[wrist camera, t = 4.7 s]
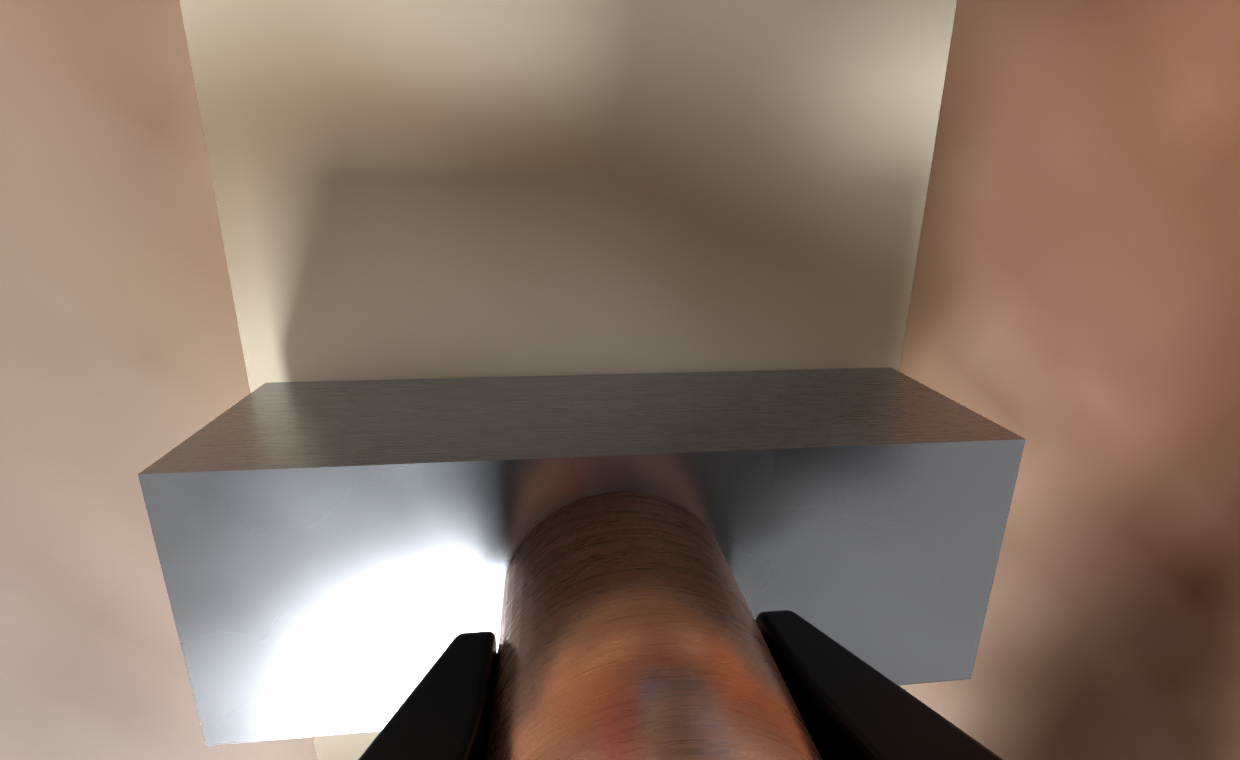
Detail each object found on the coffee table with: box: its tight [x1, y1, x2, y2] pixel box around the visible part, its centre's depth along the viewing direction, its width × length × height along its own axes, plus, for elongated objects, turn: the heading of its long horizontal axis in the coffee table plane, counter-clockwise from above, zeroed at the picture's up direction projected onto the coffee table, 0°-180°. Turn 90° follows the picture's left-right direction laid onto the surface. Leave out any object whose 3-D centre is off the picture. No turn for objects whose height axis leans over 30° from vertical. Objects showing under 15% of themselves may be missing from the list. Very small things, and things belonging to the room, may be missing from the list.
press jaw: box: [138, 367, 1025, 760], centre depth 7 cm, size 4×11×9 cm, turn 89°
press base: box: [180, 0, 957, 760], centre depth 11 cm, size 22×12×6 cm, turn 179°
